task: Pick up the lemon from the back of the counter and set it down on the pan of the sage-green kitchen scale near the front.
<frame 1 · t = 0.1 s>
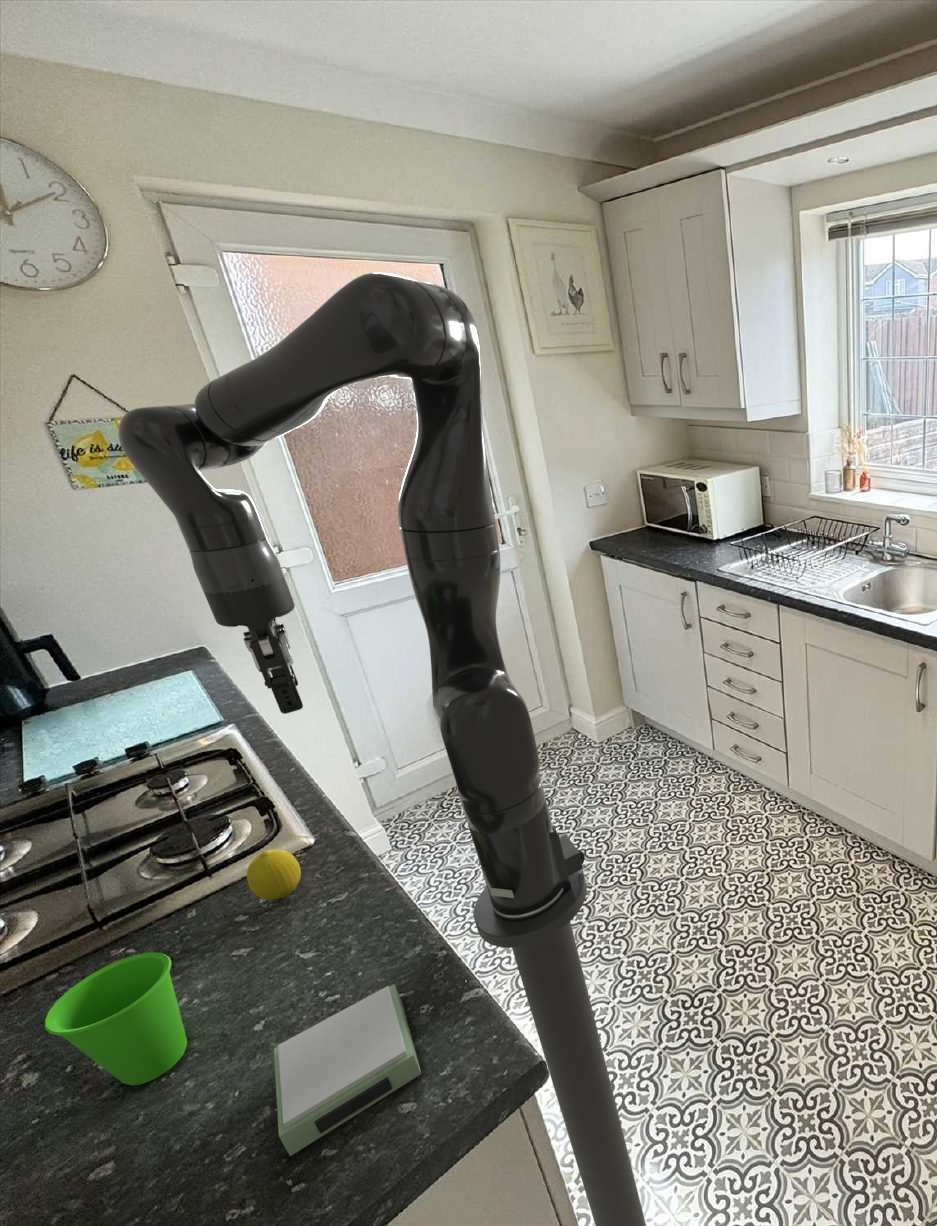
hand: (290, 698, 82), 30 cm above the counter, tool pointing down, fingers open, 8 cm apart
lemon: (285, 897, 90), on the counter
cup: (156, 1062, 69), on the counter
scale: (351, 1070, 67), on the counter
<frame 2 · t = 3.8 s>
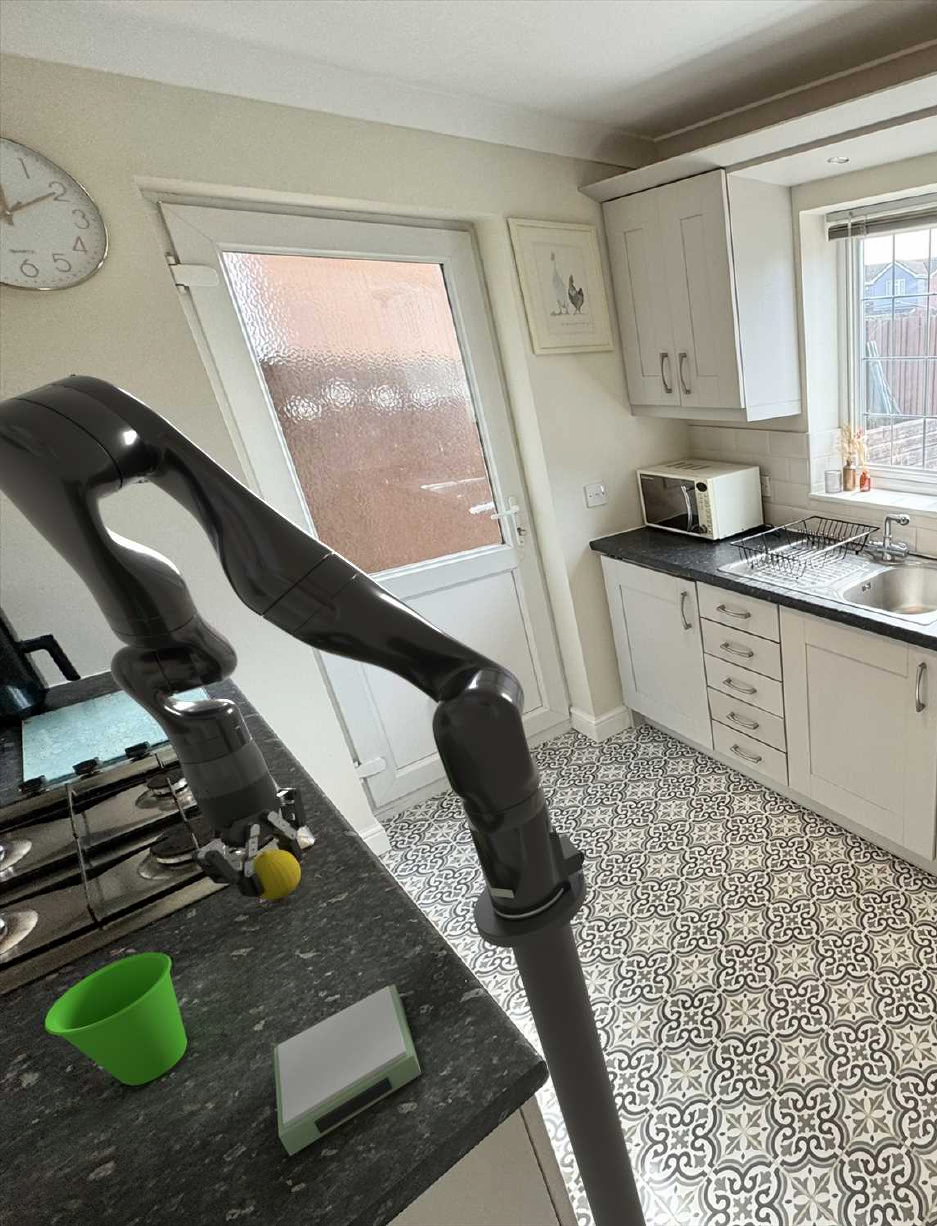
hand: (275, 877, 89), 4 cm above the counter, tool pointing down, fingers closed on lemon, 5 cm apart
lemon: (285, 897, 90), on the counter, touching gripper
everything else where it was.
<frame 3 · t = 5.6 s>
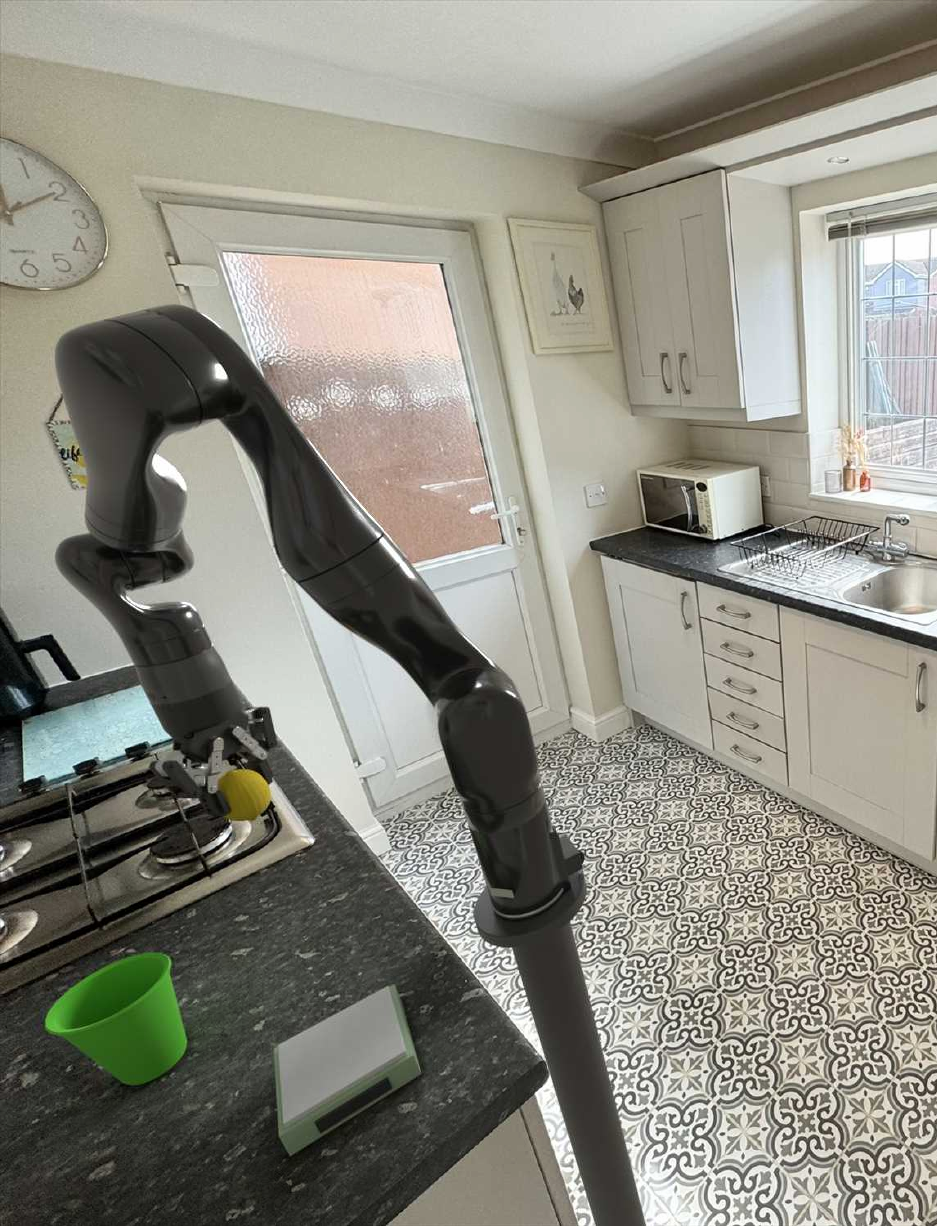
hand: (243, 798, 84), 17 cm above the counter, tool pointing down, fingers closed on lemon, 5 cm apart
lemon: (254, 821, 86), point 13 cm above the counter, touching gripper
everything else where it was.
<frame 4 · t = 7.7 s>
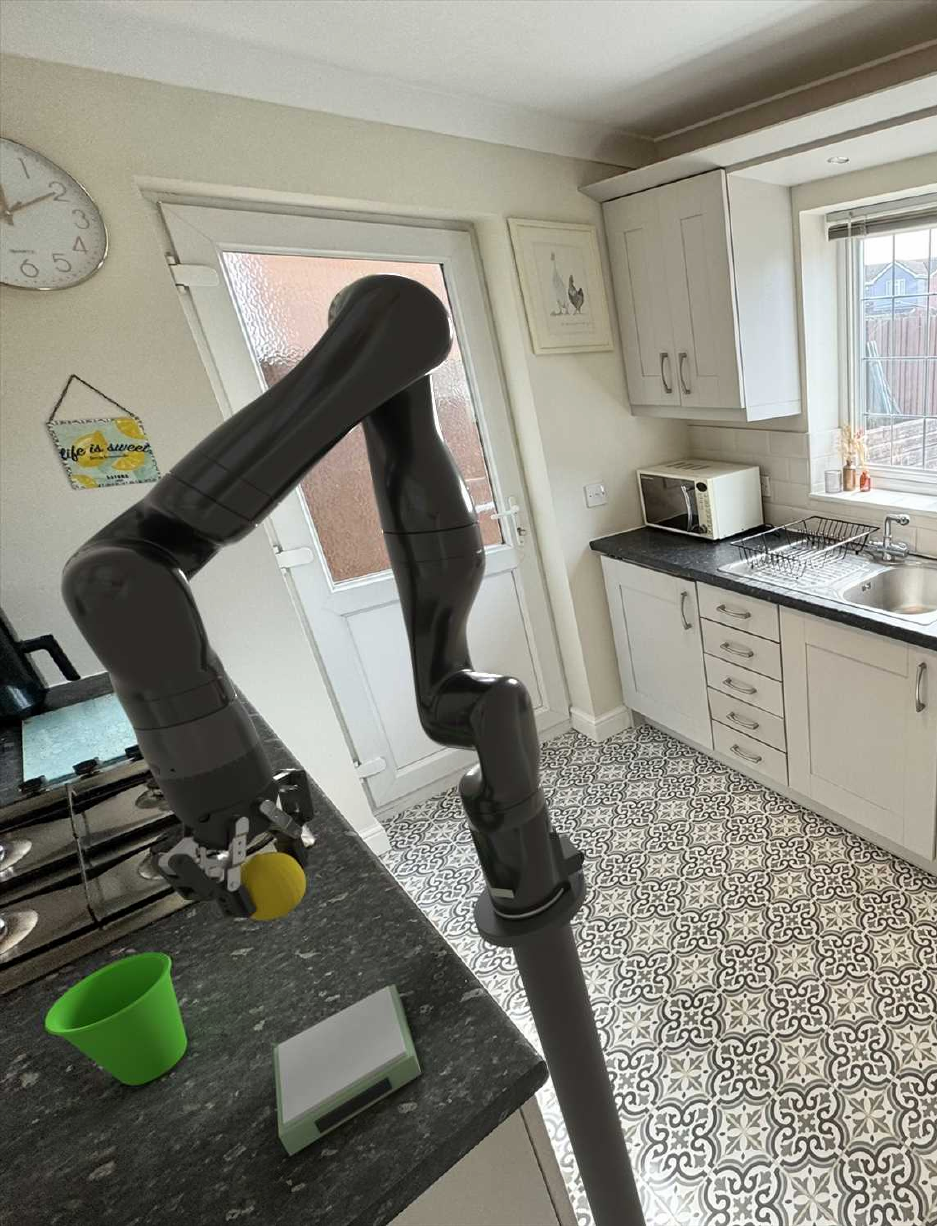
hand: (272, 889, 65), 19 cm above the counter, tool pointing down, fingers closed on lemon, 5 cm apart
lemon: (285, 916, 67), point 16 cm above the counter, touching gripper
everything else where it was.
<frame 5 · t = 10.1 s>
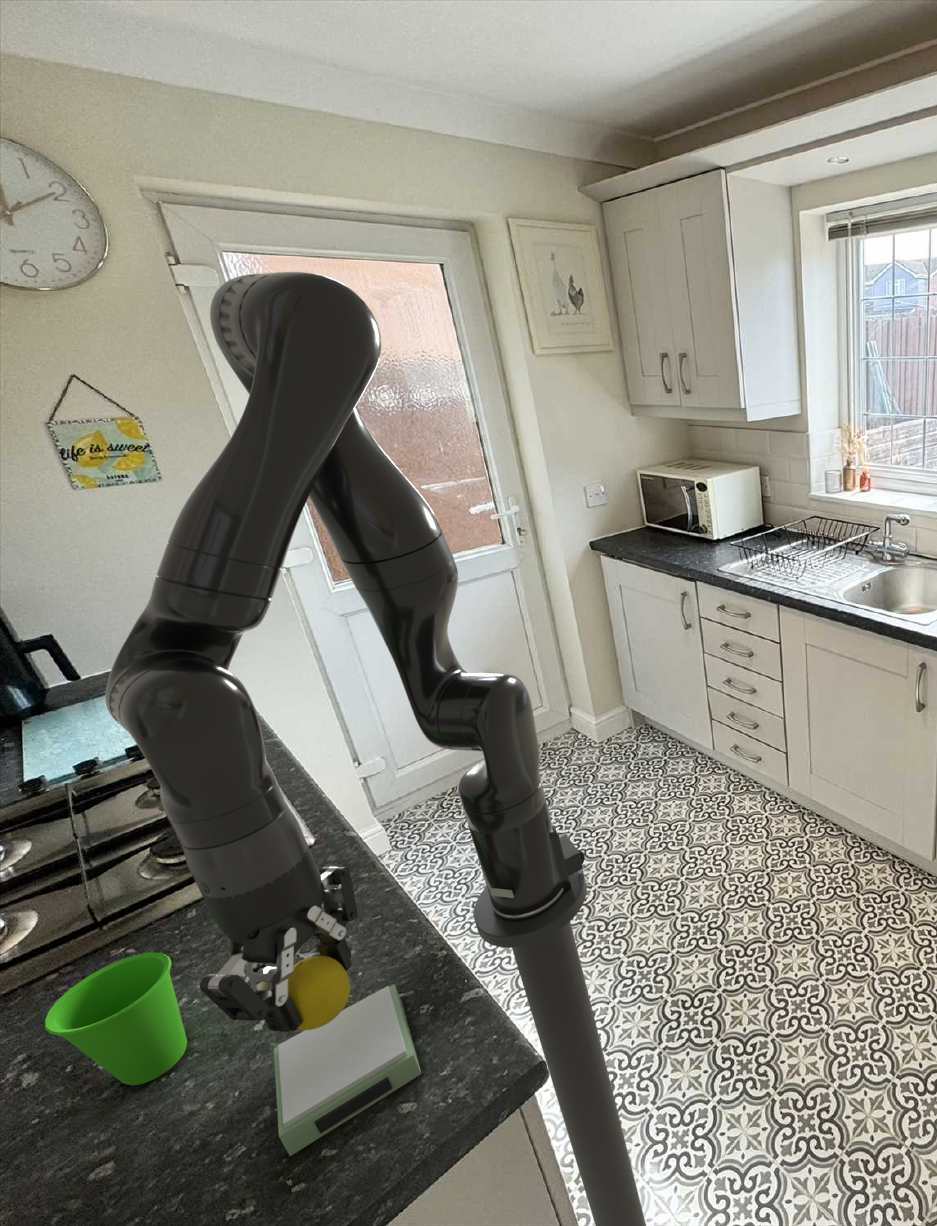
hand: (316, 996, 63), 11 cm above the counter, tool pointing down, fingers closed on lemon, 5 cm apart
lemon: (328, 1022, 64), point 8 cm above the counter, touching gripper
everything else where it was.
when the fingers open (7 cm above the counter, at t = 11.7 s): lemon stays where it is, resting on scale.
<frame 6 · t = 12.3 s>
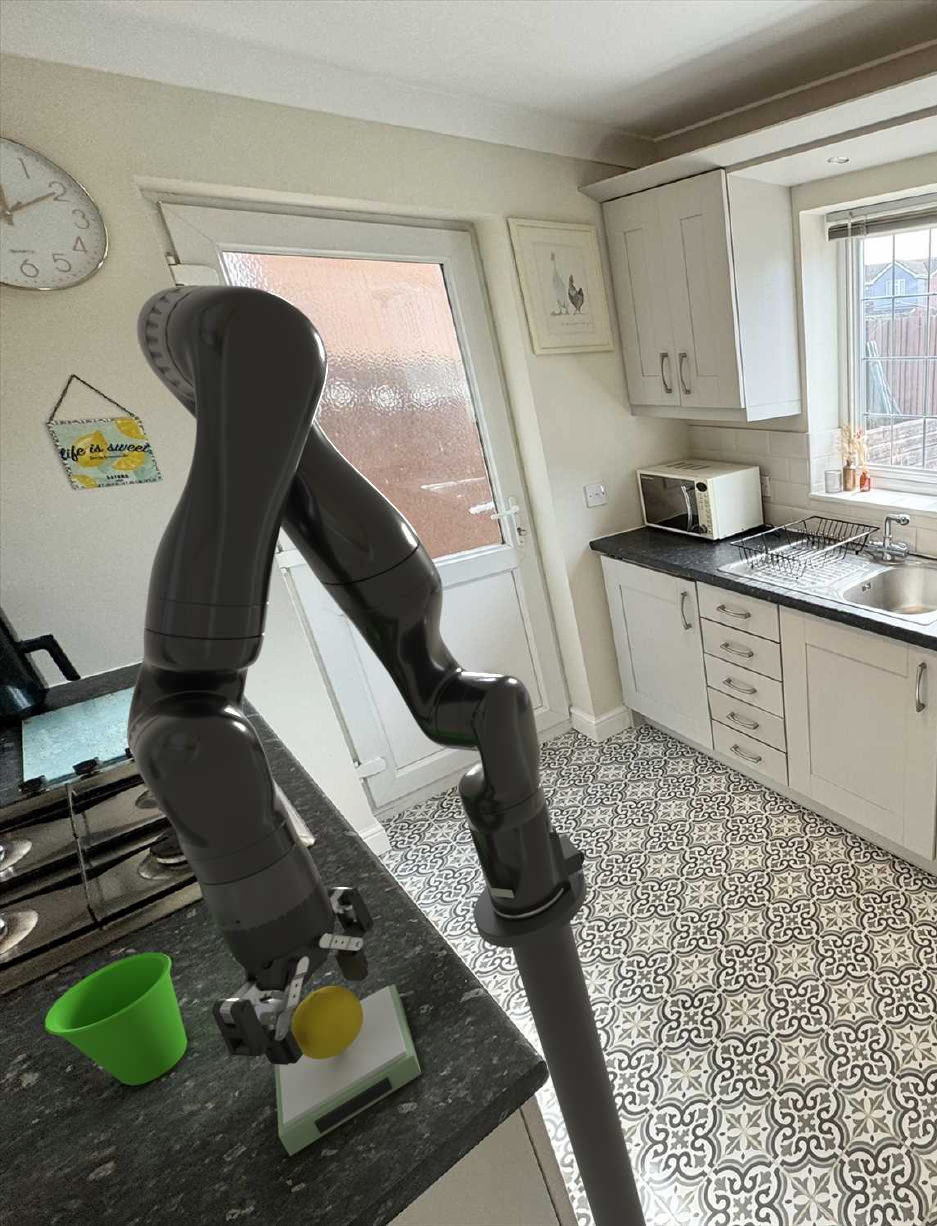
hand: (326, 1016, 64), 8 cm above the counter, tool pointing down, fingers open, 8 cm apart
lemon: (341, 1050, 66), point 3 cm above the counter, touching scale
everything else where it was.
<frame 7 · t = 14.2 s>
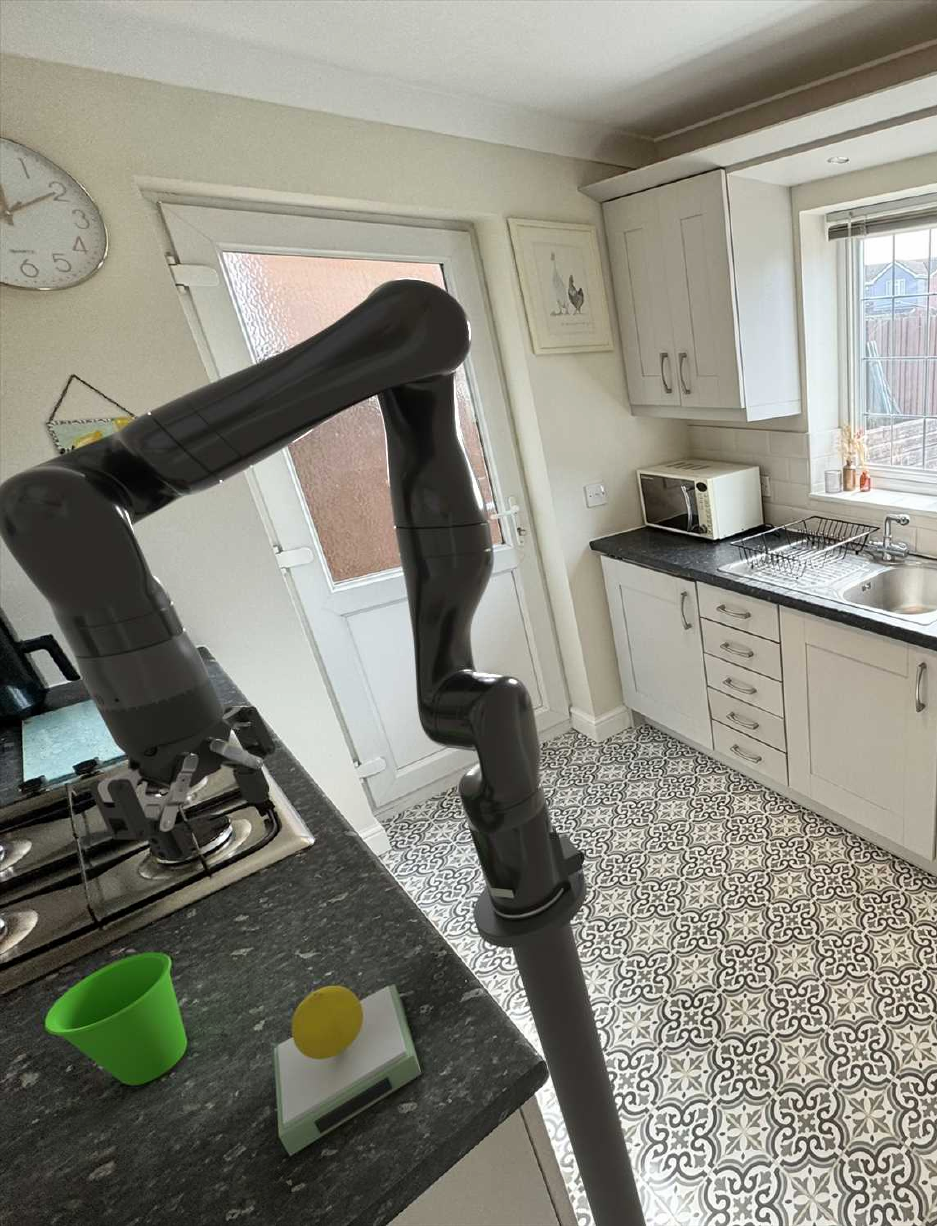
hand: (221, 827, 64), 26 cm above the counter, tool pointing down, fingers open, 8 cm apart
nothing on the counter moved.
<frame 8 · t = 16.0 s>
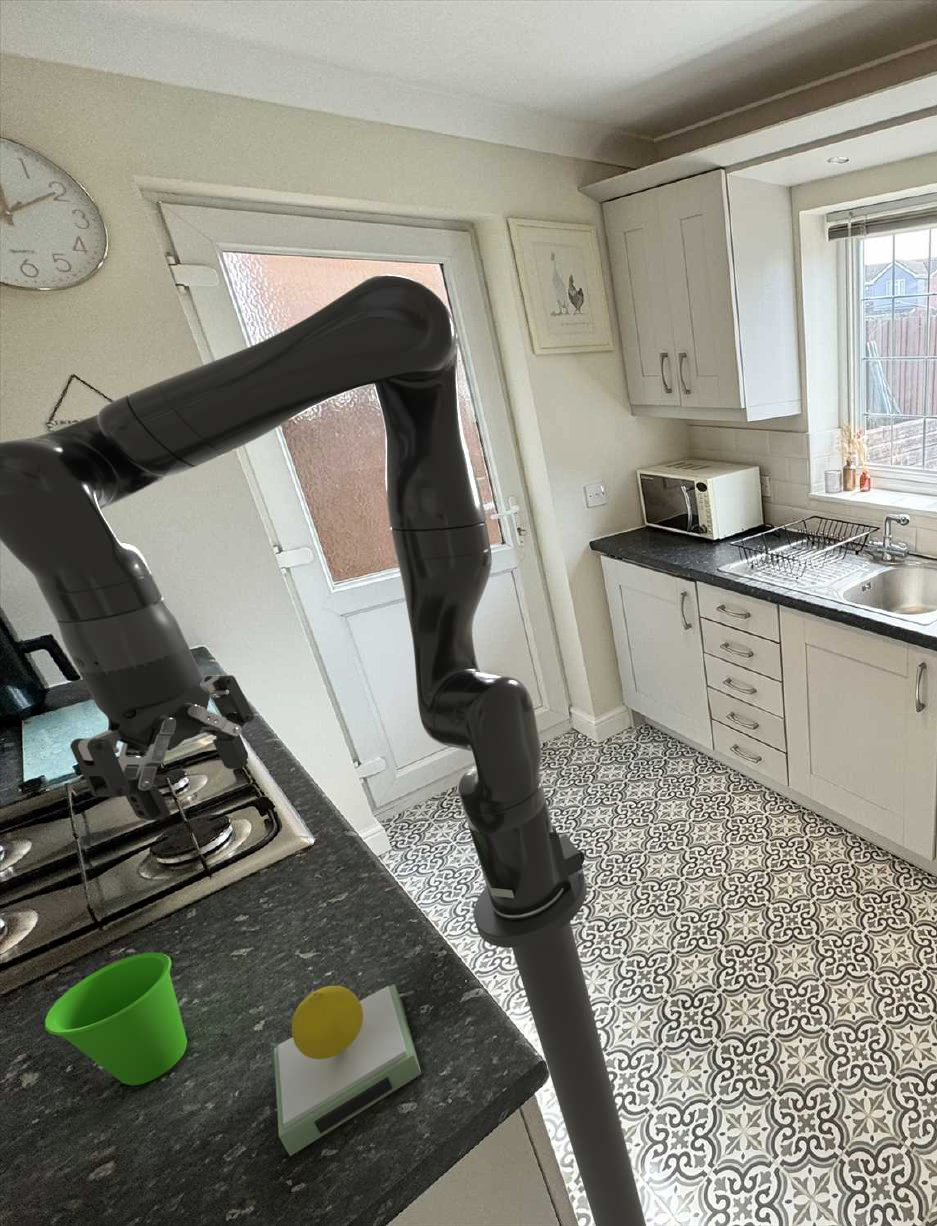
hand: (200, 790, 67), 28 cm above the counter, tool pointing down, fingers open, 8 cm apart
nothing on the counter moved.
at the end: lemon inside the target area on the scale (0.2 cm from its centre), point 3.4 cm above the scale's base; the gripper is holding nothing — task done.
